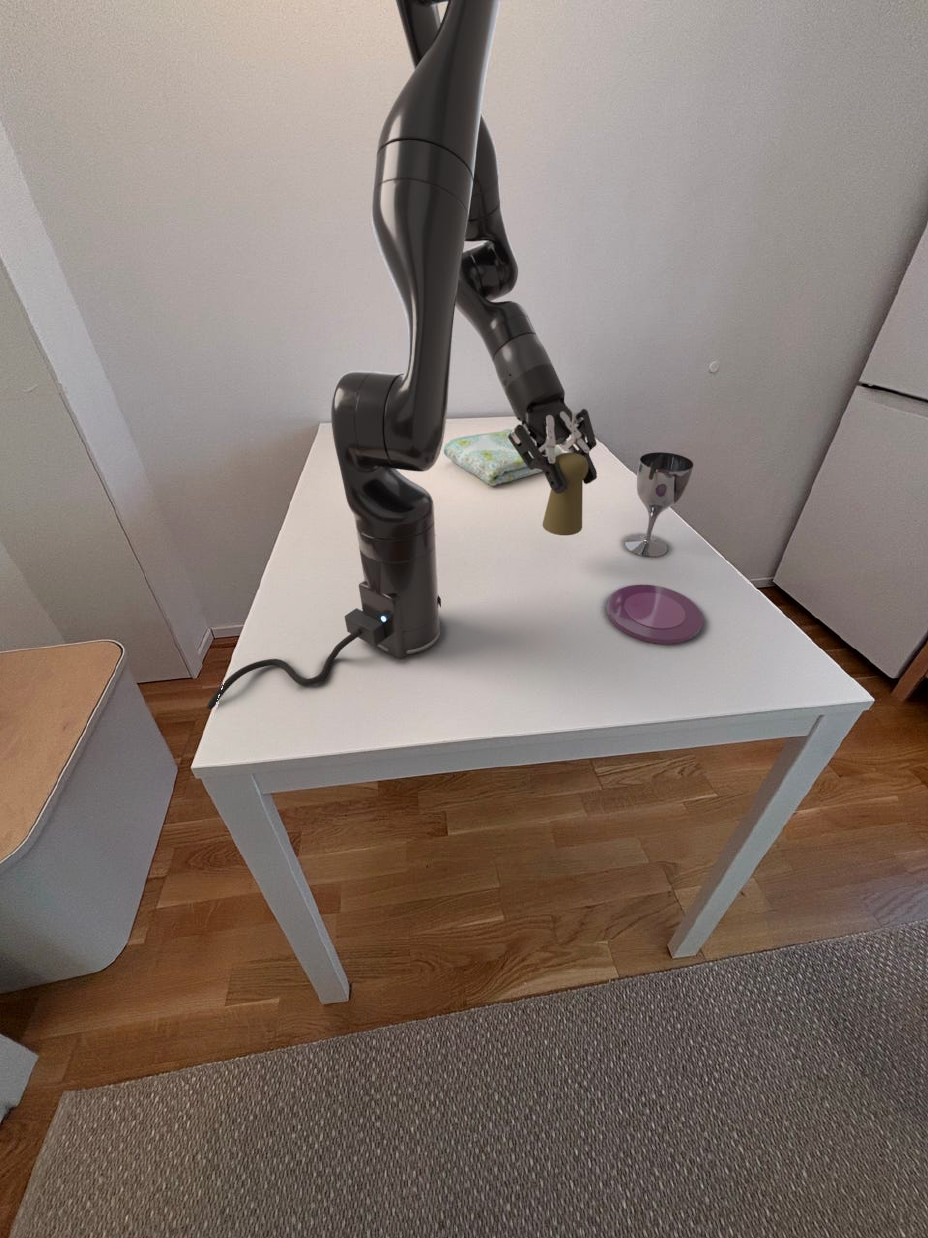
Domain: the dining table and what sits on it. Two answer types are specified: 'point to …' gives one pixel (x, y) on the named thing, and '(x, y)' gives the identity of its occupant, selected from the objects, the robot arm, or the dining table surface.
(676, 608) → the saucer
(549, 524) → the cork
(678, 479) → the wine glass
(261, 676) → the dining table surface
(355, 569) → the dining table surface
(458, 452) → the towel
